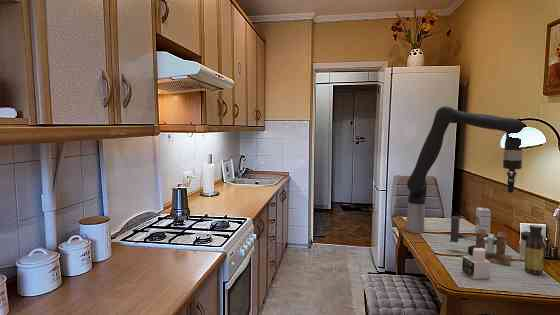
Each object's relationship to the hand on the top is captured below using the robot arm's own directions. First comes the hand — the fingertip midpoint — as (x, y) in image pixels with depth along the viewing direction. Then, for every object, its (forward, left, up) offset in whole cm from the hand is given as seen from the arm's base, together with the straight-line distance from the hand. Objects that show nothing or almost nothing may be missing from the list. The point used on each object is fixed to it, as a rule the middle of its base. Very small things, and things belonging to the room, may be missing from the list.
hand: (510, 191), depth 161 cm
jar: (+9, -12, -30) cm, 33 cm away
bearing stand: (-6, -21, -29) cm, 36 cm away
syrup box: (-13, +20, -29) cm, 38 cm away
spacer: (-6, -21, -26) cm, 34 cm away
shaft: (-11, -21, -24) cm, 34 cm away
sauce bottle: (+10, -28, -29) cm, 42 cm away
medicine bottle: (-9, -46, -30) cm, 55 cm away
